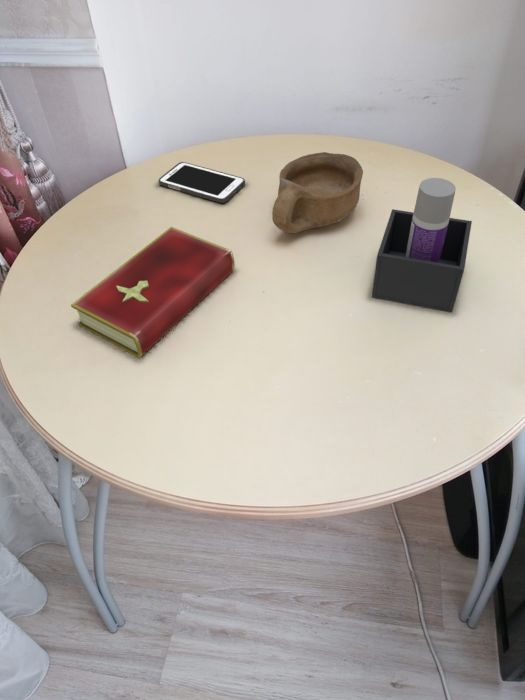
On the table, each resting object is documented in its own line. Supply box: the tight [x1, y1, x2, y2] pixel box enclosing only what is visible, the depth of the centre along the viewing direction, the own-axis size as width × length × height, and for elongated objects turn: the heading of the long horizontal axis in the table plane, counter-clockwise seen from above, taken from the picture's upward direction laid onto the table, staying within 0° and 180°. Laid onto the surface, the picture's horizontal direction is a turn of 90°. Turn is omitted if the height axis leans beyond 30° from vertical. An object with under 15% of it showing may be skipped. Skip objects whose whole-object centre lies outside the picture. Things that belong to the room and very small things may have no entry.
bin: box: [371, 208, 473, 313], centre depth 80 cm, size 11×11×8 cm
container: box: [405, 177, 457, 263], centre depth 76 cm, size 5×5×15 cm
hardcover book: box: [70, 226, 236, 359], centre depth 81 cm, size 12×21×4 cm, turn 146°
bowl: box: [271, 151, 364, 234], centre depth 91 cm, size 18×14×10 cm
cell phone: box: [158, 161, 246, 204], centre depth 102 cm, size 8×15×1 cm, turn 60°
